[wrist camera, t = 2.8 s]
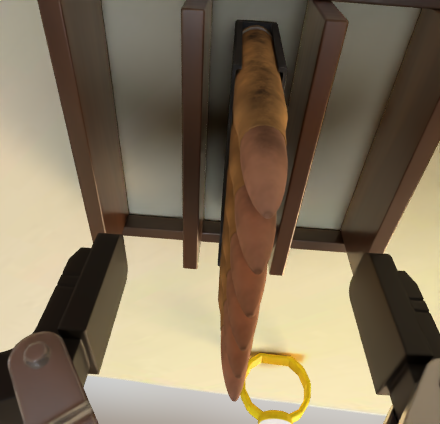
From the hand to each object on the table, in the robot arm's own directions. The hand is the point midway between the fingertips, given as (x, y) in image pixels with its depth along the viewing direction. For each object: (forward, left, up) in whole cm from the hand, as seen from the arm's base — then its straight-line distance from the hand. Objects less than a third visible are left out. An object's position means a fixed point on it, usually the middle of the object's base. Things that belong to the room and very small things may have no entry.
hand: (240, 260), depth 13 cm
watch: (-5, +23, -9) cm, 25 cm away
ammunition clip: (0, 0, -9) cm, 9 cm away
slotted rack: (0, 0, -9) cm, 9 cm away
